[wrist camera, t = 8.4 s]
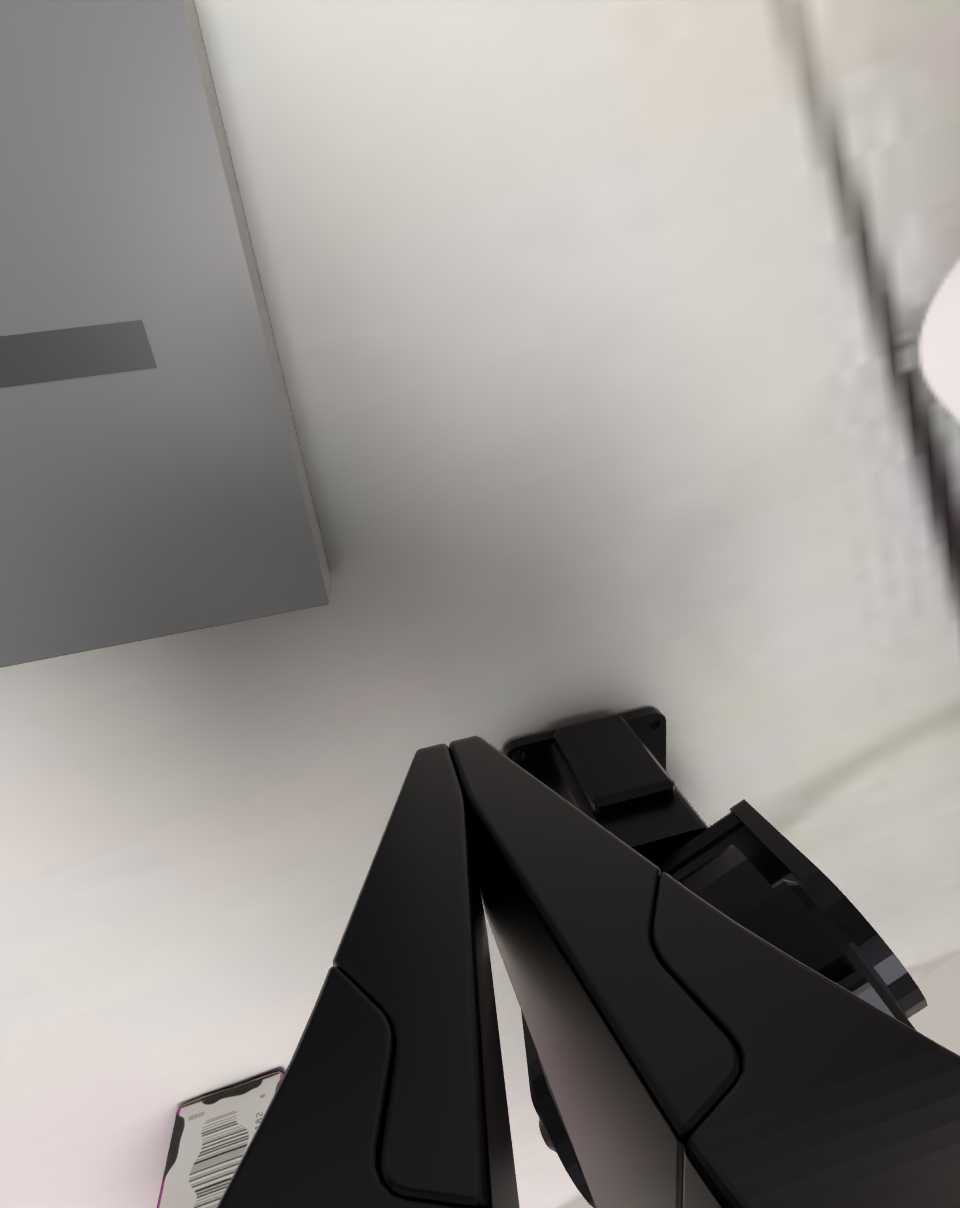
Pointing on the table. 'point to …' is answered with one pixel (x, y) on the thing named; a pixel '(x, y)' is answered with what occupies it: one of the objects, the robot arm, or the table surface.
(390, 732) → the table surface
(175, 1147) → the candy bar box
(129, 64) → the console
